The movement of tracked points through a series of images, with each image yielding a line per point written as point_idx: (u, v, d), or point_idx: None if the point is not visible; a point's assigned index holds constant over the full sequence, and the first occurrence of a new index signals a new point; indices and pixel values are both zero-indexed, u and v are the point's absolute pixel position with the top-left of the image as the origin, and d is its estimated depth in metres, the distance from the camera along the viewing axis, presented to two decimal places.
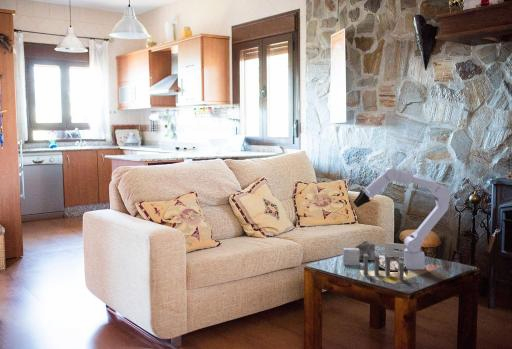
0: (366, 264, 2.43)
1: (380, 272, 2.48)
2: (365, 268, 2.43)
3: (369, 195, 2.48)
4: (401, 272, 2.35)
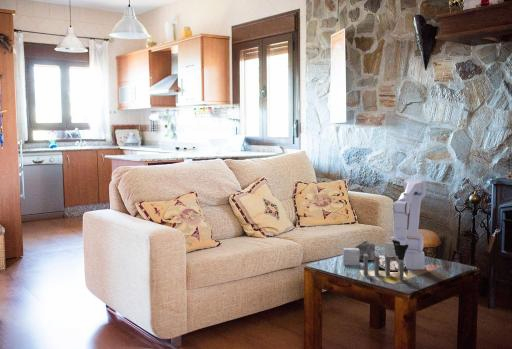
0: (366, 264, 2.43)
1: (380, 272, 2.48)
2: (365, 268, 2.43)
3: (402, 243, 2.29)
4: (401, 272, 2.35)
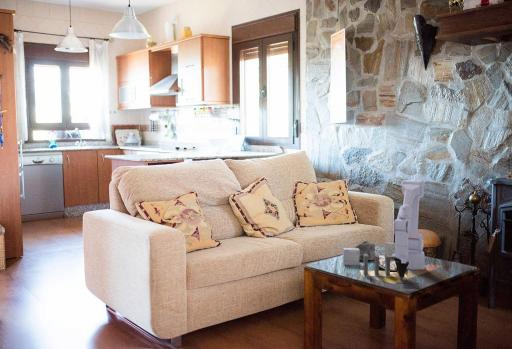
0: (366, 264, 2.43)
1: (380, 272, 2.48)
2: (365, 268, 2.43)
3: (403, 261, 2.30)
4: None
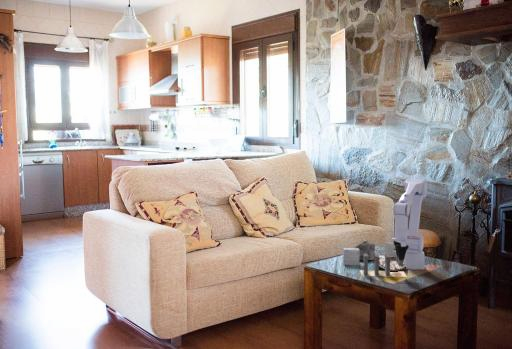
0: (366, 264, 2.43)
1: (380, 272, 2.48)
2: (365, 268, 2.43)
3: (403, 244, 2.31)
4: None
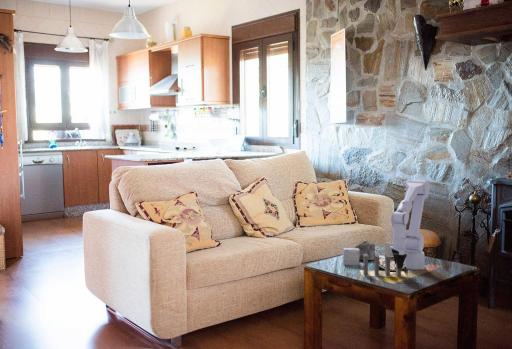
0: (366, 264, 2.43)
1: (380, 272, 2.48)
2: (365, 268, 2.43)
3: (401, 253, 2.36)
4: None
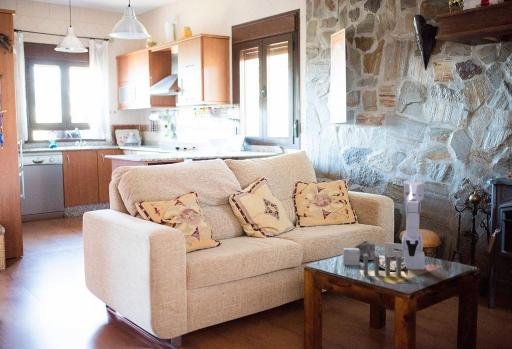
0: (366, 264, 2.43)
1: (380, 272, 2.48)
2: (365, 268, 2.43)
3: (412, 242, 2.35)
4: (399, 266, 2.41)
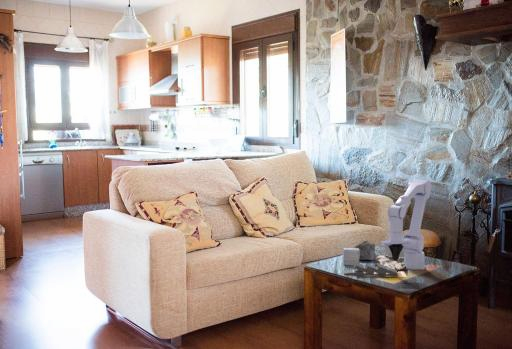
0: (352, 274, 2.44)
1: None
2: (356, 274, 2.44)
3: (382, 244, 2.41)
4: (387, 271, 2.42)
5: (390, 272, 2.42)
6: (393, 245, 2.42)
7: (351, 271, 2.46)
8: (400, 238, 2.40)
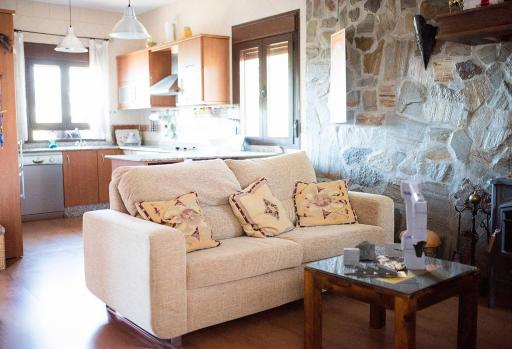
0: (352, 274, 2.44)
1: None
2: (356, 274, 2.44)
3: (413, 242, 2.33)
4: (387, 271, 2.42)
5: (390, 272, 2.42)
6: (420, 242, 2.37)
7: (351, 271, 2.46)
8: None
